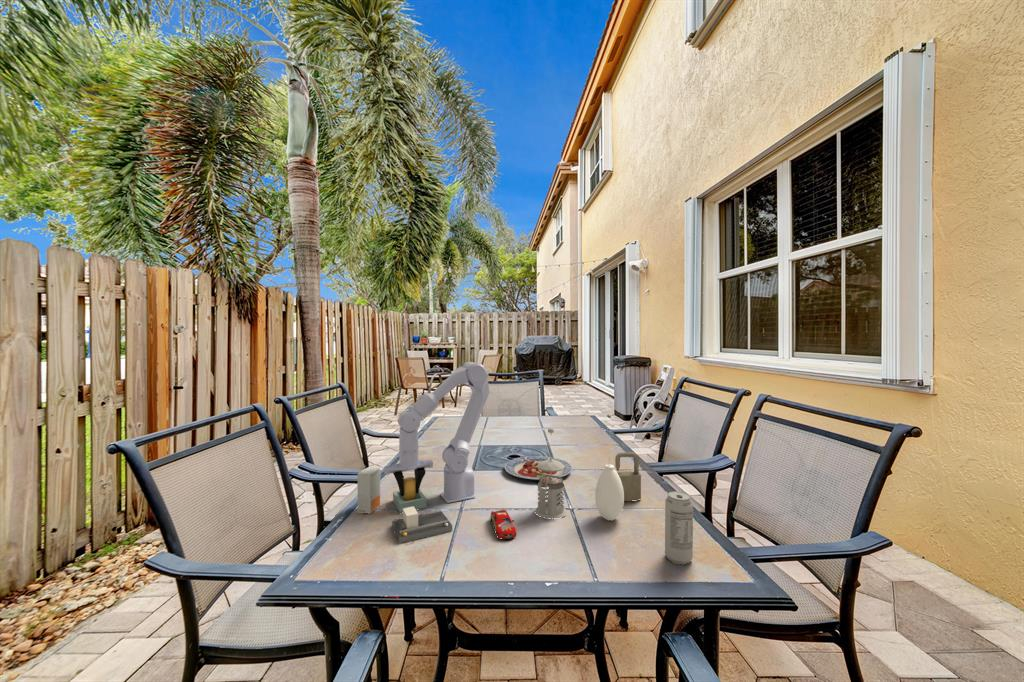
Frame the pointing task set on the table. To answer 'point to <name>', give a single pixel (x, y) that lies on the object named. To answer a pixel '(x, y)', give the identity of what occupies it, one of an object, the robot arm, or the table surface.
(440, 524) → the box
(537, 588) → the table surface
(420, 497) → the green rectangular tray
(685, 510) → the energy drink can
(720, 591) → the table surface
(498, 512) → the race car
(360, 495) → the skincare box
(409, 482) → the cap
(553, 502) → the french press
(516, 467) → the ceramic plate
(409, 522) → the lever
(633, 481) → the padlock
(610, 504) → the sauce bottle
